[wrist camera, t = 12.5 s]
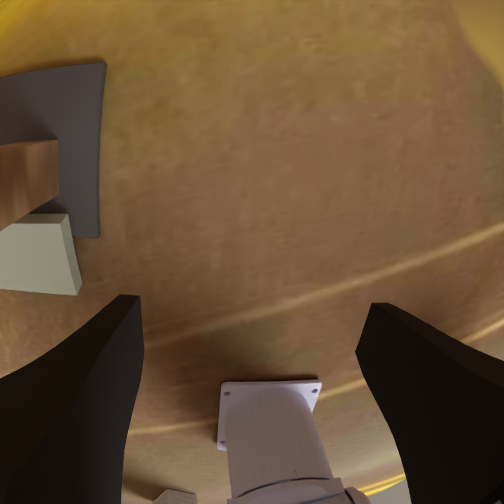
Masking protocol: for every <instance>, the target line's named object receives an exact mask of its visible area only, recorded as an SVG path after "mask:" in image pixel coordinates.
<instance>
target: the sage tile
mask: <svg viewBox="0 0 504 504" xmlns="http://www.w3.org/2000/svg"><path fill="white" fill-rule="evenodd" d="M81 286H82V280H81V275H80V271H79V267H78V263H77V258H76V253H75V249H74V244H73V239H72V234H71V228H70V223H69V217H68V214H26V215H25V216H23V217H21V218H20V219H18V220H17V221H15V222H14V223H12V224H11V225H9V226H8V227H6V228H5V229H3V230H2V231H0V289H8V290H18V291H28V292H39V293H50V294H62V295H75V296H77V295H78V292H79V290H80V288H81Z"/></svg>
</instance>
